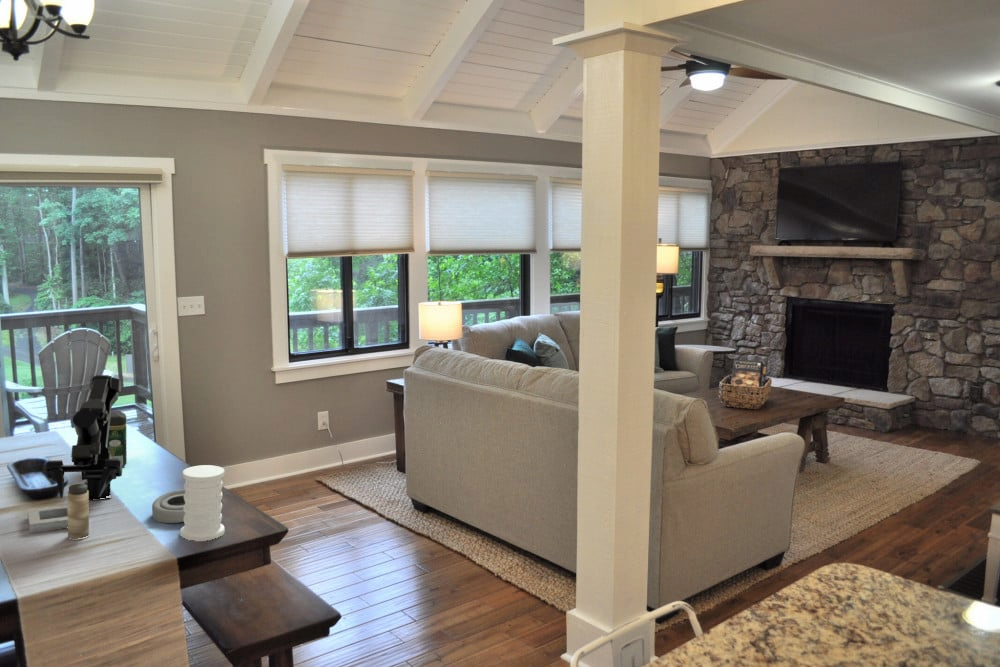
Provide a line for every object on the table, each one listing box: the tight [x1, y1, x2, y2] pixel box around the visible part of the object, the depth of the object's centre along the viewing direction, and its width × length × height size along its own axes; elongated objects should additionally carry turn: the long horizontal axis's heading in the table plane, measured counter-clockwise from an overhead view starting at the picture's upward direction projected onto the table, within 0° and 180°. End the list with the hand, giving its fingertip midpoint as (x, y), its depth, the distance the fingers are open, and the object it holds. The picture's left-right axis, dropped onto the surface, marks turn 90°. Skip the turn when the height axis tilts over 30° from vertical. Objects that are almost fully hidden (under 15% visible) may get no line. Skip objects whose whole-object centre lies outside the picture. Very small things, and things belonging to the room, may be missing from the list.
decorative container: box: [179, 464, 226, 542], centre depth 221 cm, size 12×12×18 cm
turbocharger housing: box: [151, 488, 185, 524], centre depth 235 cm, size 17×6×15 cm
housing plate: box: [27, 504, 68, 534], centre depth 223 cm, size 12×12×2 cm
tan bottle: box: [67, 483, 90, 539], centre depth 214 cm, size 5×5×14 cm
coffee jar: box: [107, 410, 128, 467], centre depth 273 cm, size 10×8×19 cm
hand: (80, 496), depth 216 cm, fingers open, 9 cm apart
